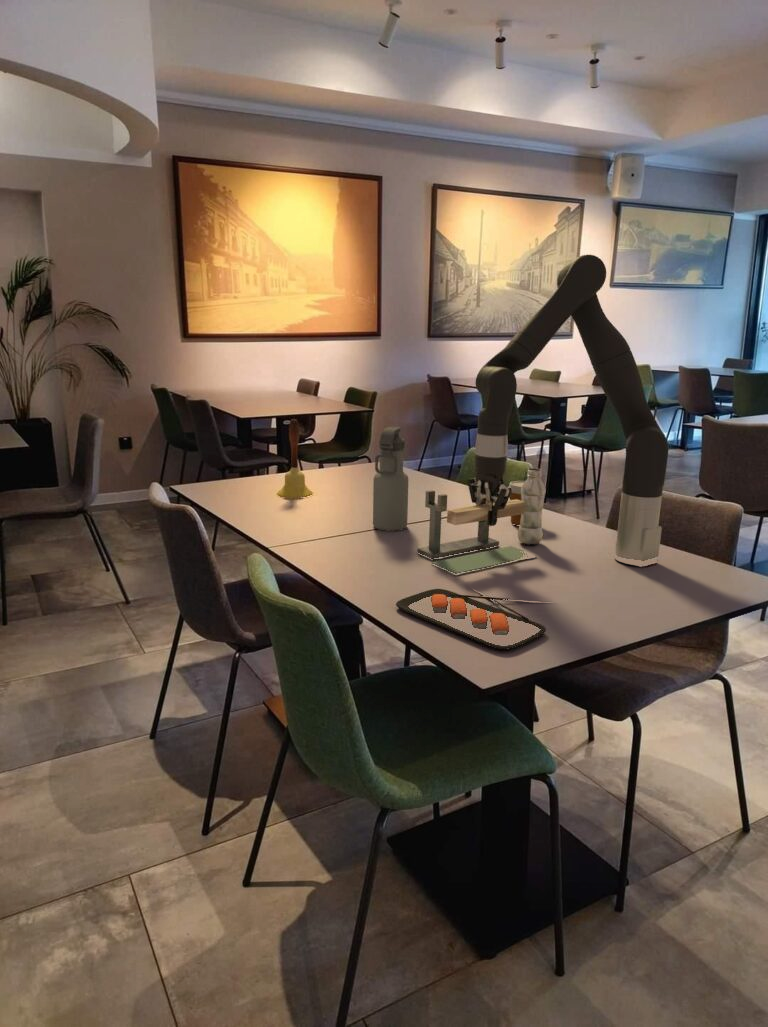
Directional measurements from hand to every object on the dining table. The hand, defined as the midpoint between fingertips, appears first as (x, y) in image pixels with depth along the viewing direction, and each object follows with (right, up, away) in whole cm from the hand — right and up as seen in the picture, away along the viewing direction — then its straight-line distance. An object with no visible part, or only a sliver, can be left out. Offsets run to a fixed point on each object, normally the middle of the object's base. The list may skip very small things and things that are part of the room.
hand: (486, 523), depth 174 cm
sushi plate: (-3, -18, -28) cm, 34 cm away
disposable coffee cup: (+15, -1, +35) cm, 39 cm away
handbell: (-55, +9, +67) cm, 87 cm away
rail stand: (-6, -7, +10) cm, 14 cm away
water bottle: (-23, -2, +30) cm, 38 cm away
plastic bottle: (+14, -6, +17) cm, 23 cm away
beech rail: (0, +1, 0) cm, 1 cm away
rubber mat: (0, -9, +2) cm, 10 cm away
